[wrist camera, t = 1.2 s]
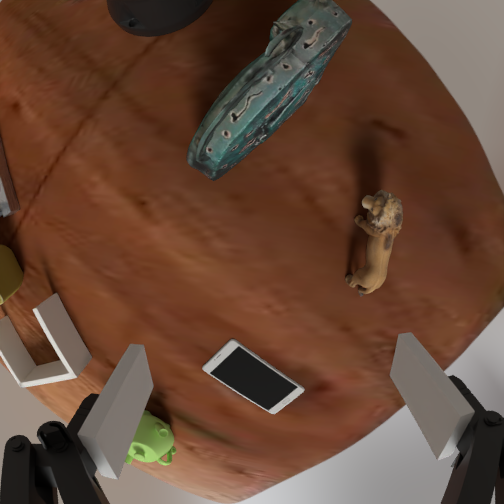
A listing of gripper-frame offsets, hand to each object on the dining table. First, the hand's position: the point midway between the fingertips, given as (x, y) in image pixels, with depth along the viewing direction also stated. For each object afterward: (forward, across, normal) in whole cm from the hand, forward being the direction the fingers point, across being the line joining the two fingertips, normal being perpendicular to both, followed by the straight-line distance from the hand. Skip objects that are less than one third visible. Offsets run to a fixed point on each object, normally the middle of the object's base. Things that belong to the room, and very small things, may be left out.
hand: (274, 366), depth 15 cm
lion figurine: (+26, +13, 0) cm, 30 cm away
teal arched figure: (+27, +1, +16) cm, 31 cm away
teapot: (+26, -21, -32) cm, 46 cm away
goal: (+26, -37, -15) cm, 48 cm away
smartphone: (+26, -1, -21) cm, 34 cm away
